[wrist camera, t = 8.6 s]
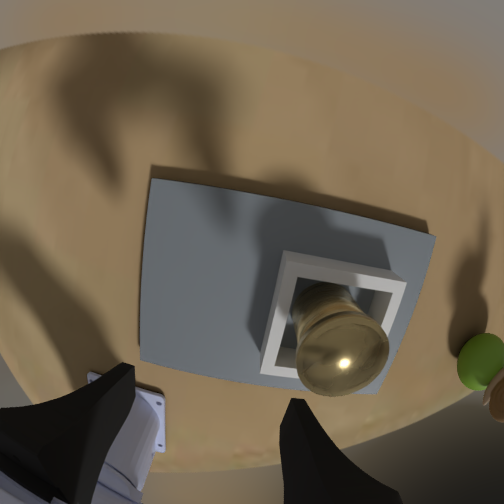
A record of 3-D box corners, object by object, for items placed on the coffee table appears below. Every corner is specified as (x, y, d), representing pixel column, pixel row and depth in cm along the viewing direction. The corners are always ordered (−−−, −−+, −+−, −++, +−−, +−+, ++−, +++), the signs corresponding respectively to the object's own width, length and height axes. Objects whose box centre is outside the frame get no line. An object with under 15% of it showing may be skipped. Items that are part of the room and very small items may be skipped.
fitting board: (373, 387, 22) (385, 412, 19) (144, 353, 22) (129, 377, 18) (429, 233, 19) (455, 244, 15) (157, 178, 18) (136, 178, 15)
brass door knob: (345, 346, 20) (368, 398, 14) (280, 337, 20) (285, 392, 14) (366, 284, 19) (403, 323, 13) (297, 271, 19) (312, 311, 13)
